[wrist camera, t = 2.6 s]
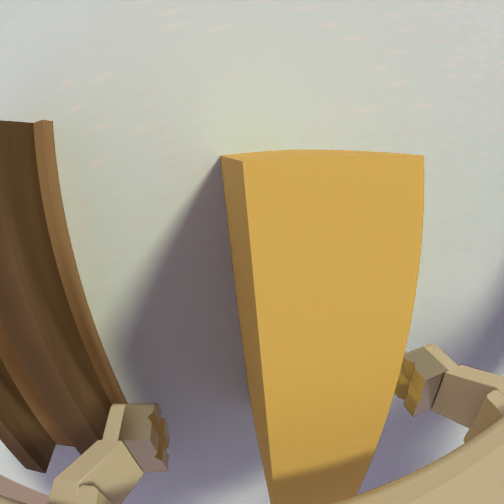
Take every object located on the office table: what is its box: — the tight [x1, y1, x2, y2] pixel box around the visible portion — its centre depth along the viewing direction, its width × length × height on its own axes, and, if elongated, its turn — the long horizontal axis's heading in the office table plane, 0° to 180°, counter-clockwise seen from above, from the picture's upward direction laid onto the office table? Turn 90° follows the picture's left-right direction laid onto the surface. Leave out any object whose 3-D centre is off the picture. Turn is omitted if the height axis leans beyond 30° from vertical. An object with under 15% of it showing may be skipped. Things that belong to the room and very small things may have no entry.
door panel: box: [221, 150, 424, 504], centre depth 11 cm, size 3×14×9 cm, turn 5°
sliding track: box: [0, 120, 127, 473], centre depth 12 cm, size 10×20×4 cm, turn 5°
